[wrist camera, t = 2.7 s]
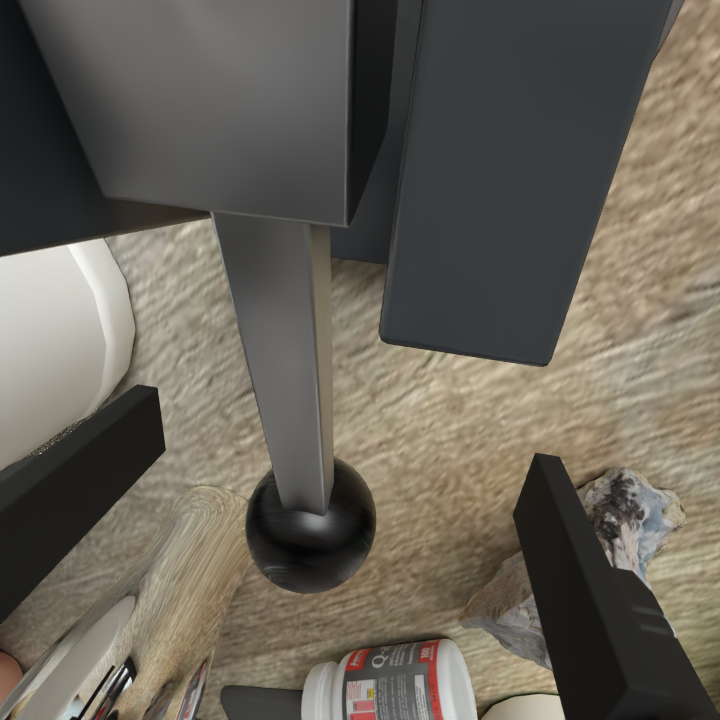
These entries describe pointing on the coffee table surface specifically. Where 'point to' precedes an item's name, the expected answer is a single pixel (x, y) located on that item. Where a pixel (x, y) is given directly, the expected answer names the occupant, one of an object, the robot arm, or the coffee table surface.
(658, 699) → the robot arm
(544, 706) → the white vase
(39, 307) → the bottle
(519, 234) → the bracket
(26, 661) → the coffee table surface
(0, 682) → the toy ball
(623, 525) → the mineral specimen
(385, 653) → the pill bottle
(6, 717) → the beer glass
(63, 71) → the lever
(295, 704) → the cell phone
